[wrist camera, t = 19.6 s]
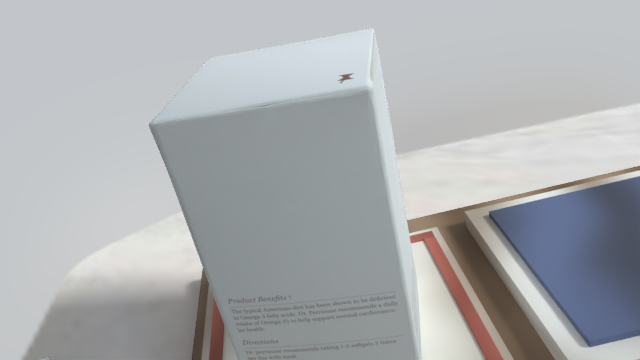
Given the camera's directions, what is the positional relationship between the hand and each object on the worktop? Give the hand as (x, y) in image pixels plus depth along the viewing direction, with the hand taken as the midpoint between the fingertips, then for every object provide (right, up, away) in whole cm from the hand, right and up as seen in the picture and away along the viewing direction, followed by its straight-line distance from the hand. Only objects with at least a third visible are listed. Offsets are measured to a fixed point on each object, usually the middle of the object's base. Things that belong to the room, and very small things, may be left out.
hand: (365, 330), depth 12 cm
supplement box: (0, -4, +14) cm, 14 cm away
